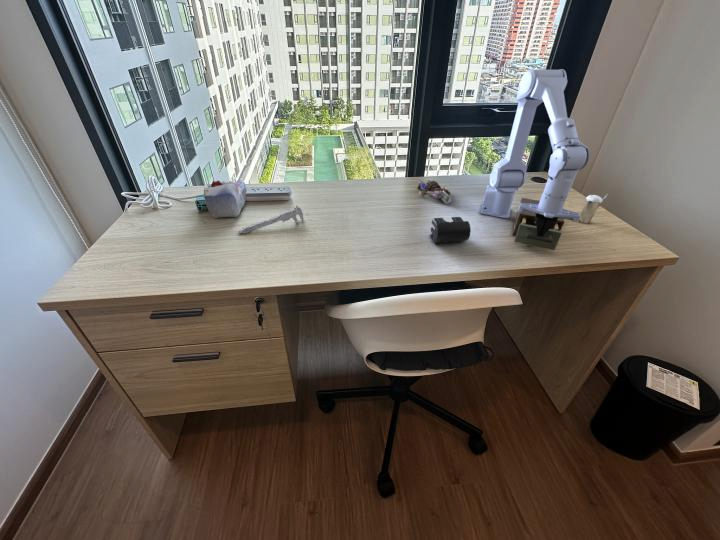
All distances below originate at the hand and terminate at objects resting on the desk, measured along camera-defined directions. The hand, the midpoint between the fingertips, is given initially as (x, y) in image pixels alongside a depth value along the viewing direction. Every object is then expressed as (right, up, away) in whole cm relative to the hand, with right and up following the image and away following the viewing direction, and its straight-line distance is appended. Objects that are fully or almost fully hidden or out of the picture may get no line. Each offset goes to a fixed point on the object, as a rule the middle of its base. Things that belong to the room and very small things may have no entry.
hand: (537, 238), depth 94 cm
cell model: (-97, +13, +23) cm, 100 cm away
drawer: (+2, 0, +6) cm, 6 cm away
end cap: (-24, 0, +7) cm, 25 cm away
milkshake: (+26, +7, +18) cm, 33 cm away
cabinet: (+6, +4, +13) cm, 14 cm away
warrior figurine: (-22, +19, +33) cm, 44 cm away
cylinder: (+3, +2, +6) cm, 7 cm away
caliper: (-79, +4, +12) cm, 80 cm away
